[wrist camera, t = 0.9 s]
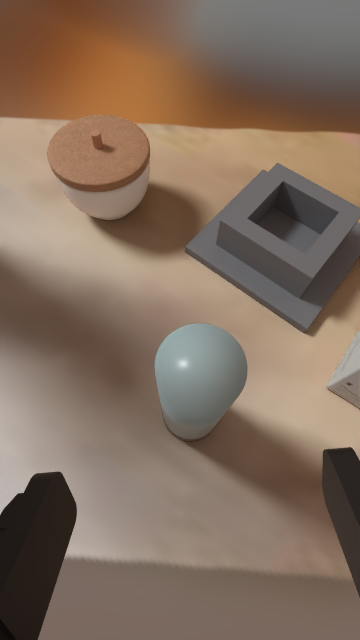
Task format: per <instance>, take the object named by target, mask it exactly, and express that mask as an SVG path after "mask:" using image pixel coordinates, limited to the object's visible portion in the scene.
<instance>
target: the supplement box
mask: <svg viewBox="0 0 360 640" xmlns="http://www.w3.org/2000/svg"><path fill="white" fill-rule="evenodd" d="M326 387H327V388H328V389H329V390H331V391H333V392H334V393H336V394H338V395H339V396H341V397H343V398H344V399H346V400H347V401H349V402H351V403H352V404H354V405H355V406H357V407H358V408H360V331H359V332H358V333H357V334H356V335H355V337H354V338H353V340H352V342H351V343H350V345H349V347H348V349H347V351H346V352H345V354H344V356H343V358H342V359H341V361H340V363H339V365H338V367H337V368H336V370H335V372H334V374H333V375H332V377H331V379H330V381H329V382H328V384H327V386H326Z"/></svg>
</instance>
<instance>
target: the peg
mask: <svg viewBox="0 0 360 640" xmlns="http://www.w3.org/2000/svg"><path fill="white" fill-rule="evenodd" d="M155 377H156V382H157V387H158V393H159V398H160V403H161V408H162V414H163V419H164V423H165V425H166V427H167V429H168V431H169V432H170V433H171V434H172V435H173V436H174V437H176V438H178V439H180V440H182V441H187V442H194V441H198V440H201V439H203V438H204V437H206V436H207V435H208V434H209V433H210V432H211V431H212V429H213V428H214V427H215V426H216V424H217V423H218V422H219V420H220V419H221V418H222V417H223V415H224V414H225V413H226V411H227V410H228V409H229V408H230V406H231V405H232V404H233V402H234V401H235V400H236V399H237V397H238V396H239V395H240V393H241V391H242V390H243V388H244V385H245V382H246V379H247V361H246V357H245V354H244V352H243V349H242V348H241V346H240V344H239V343H238V342H237V340H236V339H235V338H234V337H233V336H232V335H230V334H229V333H228V332H226V331H225V330H223V329H221V328H219V327H216V326H213V325H209V324H202V323H200V324H190V325H186V326H183V327H181V328H178V329H177V330H175V331H173V332H172V333H171V334H169V335H168V336H167V337H166V338H165V340H164V341H163V342H162V344H161V345H160V347H159V349H158V351H157V354H156V358H155Z"/></svg>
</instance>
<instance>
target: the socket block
mask: <svg viewBox="0 0 360 640" xmlns="http://www.w3.org/2000/svg"><path fill="white" fill-rule="evenodd" d="M359 219H360V208H359V207H357V206H356V205H354V204H352V203H350V202H348V201H346V200H345V199H343V198H341V197H339V196H337V195H335V194H334V193H332V192H330V191H328V190H326V189H324V188H323V187H321V186H319V185H317V184H315V183H313V182H312V181H310V180H308V179H306V178H304V177H302V176H301V175H299V174H297V173H295V172H293V171H292V170H290V169H288V168H286V167H284V166H282V165H281V164H279V163H277V164H276V165H275V166H274V167H273V168H272V169H271V170H270V171H269V172H267V171H265V170H262V171H261V172H260V173H259V174H258V175H257V176H256V177H255V178H254V179H253V180H252V181H251V182H250V183H249V184H248V185H247V186H246V187H245V188H244V189H243V190H242V191H241V192H240V193H239V194H238V195H237V196H236V197H235V198H234V199H233V200H232V201H231V202H230V203H229V204H228V205H227V206H226V207H225V208H224V209H223V210H222V211H221V212H220V213H218V214H217V215H216V216H215V217H214V218H213V219H212V220H211V221H210V222H209V223H208V224H207V225H206V226H205V227H204V228H203V229H202V230H201V231H200V232H199V233H198V234H197V235H196V236H195V237H194V238H193V239H192V240H191V241H190V242H189V243H188V244H187V245H186V246H185V252H186V253H188V254H189V255H190V256H192V257H193V258H195V259H196V260H198V261H199V262H201V263H202V264H204V265H205V266H207V267H208V268H209V269H211V270H212V271H214V272H215V273H217V274H218V275H220V276H221V277H223V278H224V279H226V280H227V281H228V282H230V283H231V284H233V285H234V286H236V287H237V288H239V289H240V290H242V291H243V292H245V293H246V294H247V295H249V296H250V297H252V298H253V299H255V300H256V301H258V302H259V303H261V304H262V305H264V306H265V307H267V308H268V309H269V310H271V311H272V312H274V313H275V314H277V315H278V316H280V317H281V318H283V319H284V320H286V321H287V322H288V323H290V324H291V325H293V326H294V327H296V328H297V329H299V330H300V331H302V332H303V333H304V332H305V331H306V330H307V329H308V327H309V326H310V324H311V323H312V322H313V320H314V319H315V318H316V316H317V315H318V313H319V312H320V311H321V309H322V308H323V307H324V305H325V304H326V302H327V301H328V300H329V298H330V297H331V296H332V294H333V293H334V291H335V290H336V289H337V287H338V286H339V285H340V283H341V282H342V280H343V279H344V278H345V276H346V275H347V274H348V272H349V271H350V269H351V268H352V267H353V265H354V264H355V263H356V261H357V260H358V258H359V257H360V223H358V222H357V221H358V220H359Z"/></svg>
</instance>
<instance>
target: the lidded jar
mask: <svg viewBox="0 0 360 640" xmlns="http://www.w3.org/2000/svg"><path fill="white" fill-rule="evenodd" d="M47 156H48V161H49V164H50V167H51V169H52V171H53V172H54V174H55V176H56V178H57V181H58V183H59V185H60V187H61V188H62V190H63V192H64V193H65V195H66V197H67V198H68V199H69V200H70V202H71V203H72V204H73V205H74V206H75V207H76V208H78V209H79V210H80V211H82V212H84V213H86V214H87V215H89V216H92V217H96V218H99V219H103V220H116V219H119V218H122V217H124V216H126V215H127V214H128V213H130V212H131V211H132V210H133V209H135V208H136V207H137V206H138V205H139V203H140V202H141V201H142V199H143V197H144V195H145V193H146V190H147V187H148V182H149V175H150V160H149V158H150V145H149V141H148V138H147V136H146V134H145V133H144V132H143V130H142V129H141V128H140V127H138V126H137V125H136V124H134V123H133V122H131V121H129V120H127V119H125V118H121V117H117V116H112V115H93V116H87V117H82V118H80V119H77V120H74V121H72V122H70V123H68V124H66V125H65V126H63V127H62V128H61V129H60V130H58V131H57V132H56V134H55V135H54V136H53V138H52V139H51V141H50V143H49V146H48V151H47Z"/></svg>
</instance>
